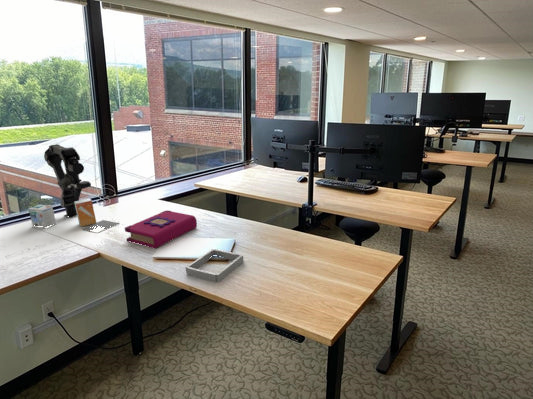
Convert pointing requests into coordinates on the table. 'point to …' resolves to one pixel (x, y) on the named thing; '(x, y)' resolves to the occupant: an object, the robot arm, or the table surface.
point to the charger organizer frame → (238, 260)
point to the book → (161, 228)
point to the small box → (85, 212)
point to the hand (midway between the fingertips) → (77, 198)
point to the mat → (100, 223)
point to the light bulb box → (42, 215)
